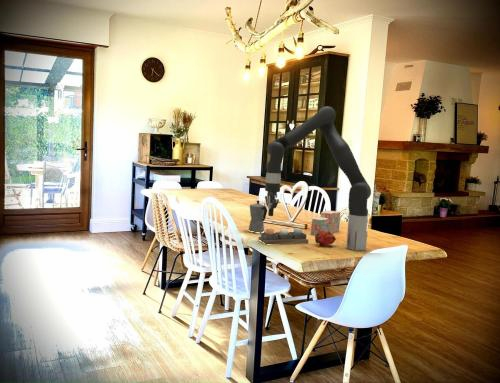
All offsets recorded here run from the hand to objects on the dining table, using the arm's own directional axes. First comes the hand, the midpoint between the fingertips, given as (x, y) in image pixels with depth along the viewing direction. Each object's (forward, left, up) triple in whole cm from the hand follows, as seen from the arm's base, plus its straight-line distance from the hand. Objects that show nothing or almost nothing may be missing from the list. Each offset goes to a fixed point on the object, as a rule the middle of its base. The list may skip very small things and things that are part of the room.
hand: (270, 215), depth 235 cm
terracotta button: (0, 0, -10) cm, 10 cm away
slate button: (0, -16, -10) cm, 19 cm away
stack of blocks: (+19, -44, -14) cm, 50 cm away
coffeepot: (+25, -4, -14) cm, 29 cm away
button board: (0, -8, -14) cm, 16 cm away
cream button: (0, -8, -10) cm, 13 cm away
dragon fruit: (-11, -26, -14) cm, 32 cm away
